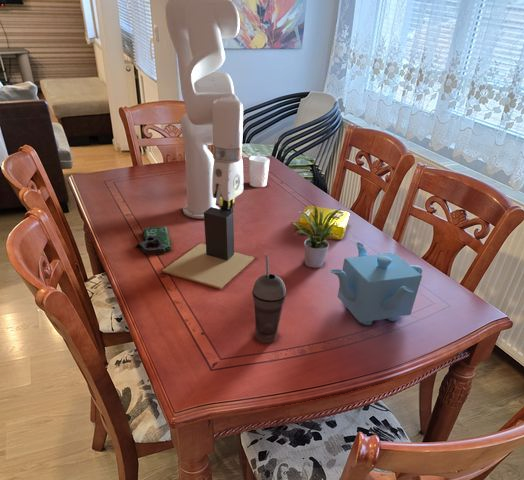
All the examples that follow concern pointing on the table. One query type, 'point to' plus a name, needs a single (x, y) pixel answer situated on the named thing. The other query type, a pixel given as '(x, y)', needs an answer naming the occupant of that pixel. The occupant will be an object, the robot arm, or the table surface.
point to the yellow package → (338, 225)
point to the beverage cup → (268, 305)
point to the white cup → (258, 171)
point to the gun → (155, 240)
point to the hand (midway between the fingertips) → (226, 220)
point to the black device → (219, 233)
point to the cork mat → (207, 267)
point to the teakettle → (378, 286)
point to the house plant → (316, 238)
